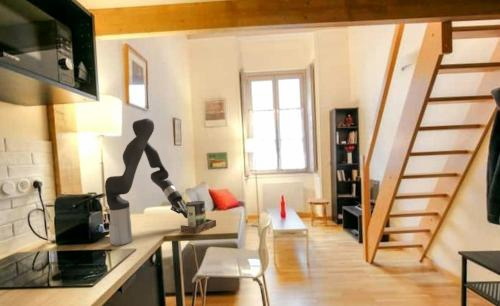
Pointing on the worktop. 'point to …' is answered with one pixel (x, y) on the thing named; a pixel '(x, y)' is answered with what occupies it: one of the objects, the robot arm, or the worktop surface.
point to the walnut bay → (199, 226)
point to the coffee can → (196, 213)
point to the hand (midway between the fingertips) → (187, 217)
